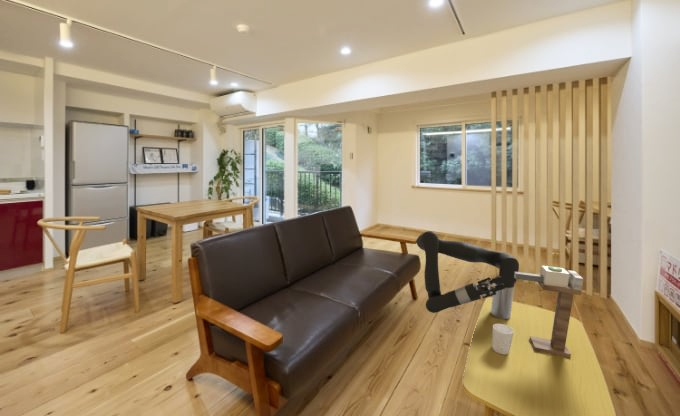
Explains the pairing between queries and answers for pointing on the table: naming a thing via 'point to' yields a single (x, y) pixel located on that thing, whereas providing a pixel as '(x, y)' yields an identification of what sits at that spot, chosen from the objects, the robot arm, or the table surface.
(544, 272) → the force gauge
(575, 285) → the wooden pedestal stand
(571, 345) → the table surface
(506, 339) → the white cup
